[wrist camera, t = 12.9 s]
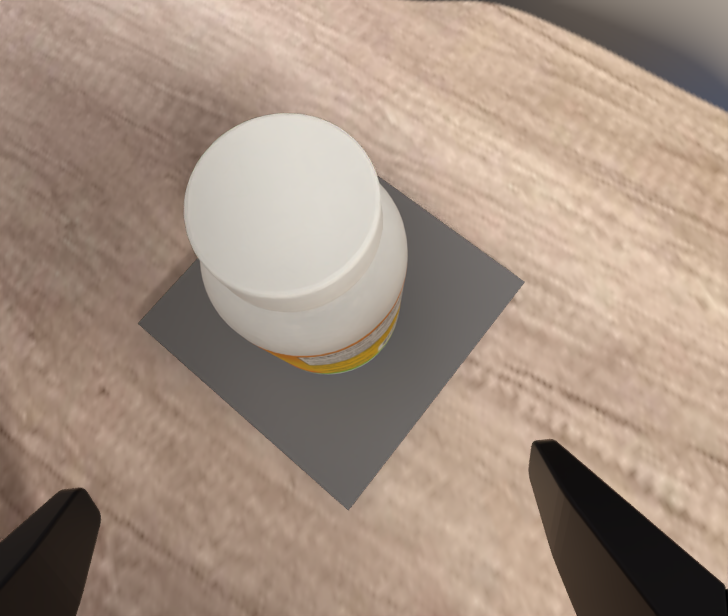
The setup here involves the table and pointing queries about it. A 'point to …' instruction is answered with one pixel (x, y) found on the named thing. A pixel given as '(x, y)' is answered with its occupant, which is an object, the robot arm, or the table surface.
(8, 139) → the table surface
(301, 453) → the coaster mat
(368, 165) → the supplement bottle
